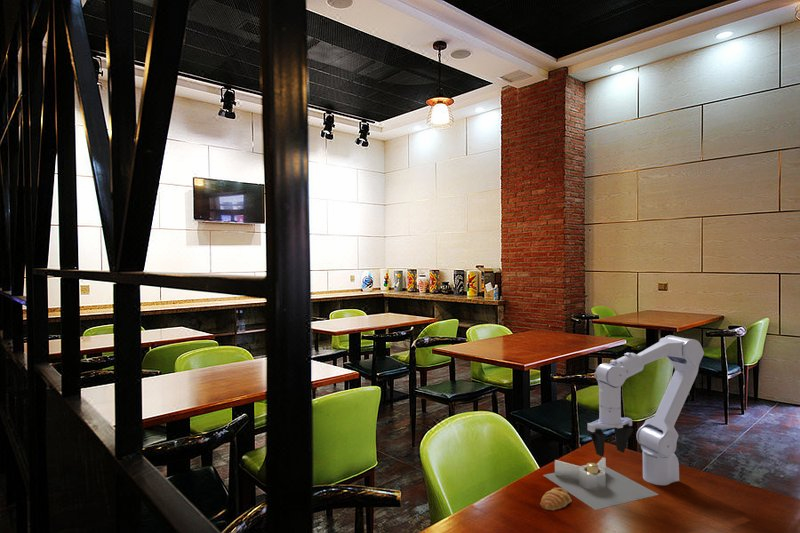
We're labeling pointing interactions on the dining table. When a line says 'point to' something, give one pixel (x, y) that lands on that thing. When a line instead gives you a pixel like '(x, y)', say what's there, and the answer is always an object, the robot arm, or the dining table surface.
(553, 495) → the pastry
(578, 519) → the dining table surface
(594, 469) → the pin
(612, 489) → the mat
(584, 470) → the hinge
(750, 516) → the dining table surface
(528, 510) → the dining table surface
